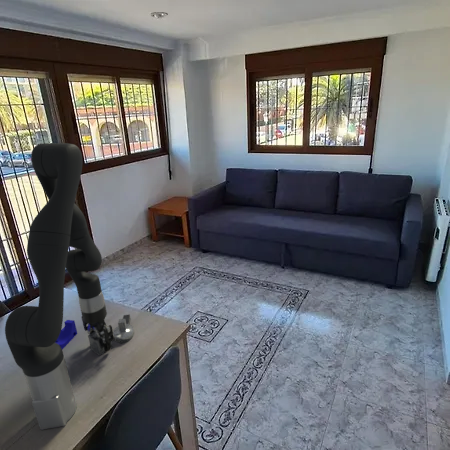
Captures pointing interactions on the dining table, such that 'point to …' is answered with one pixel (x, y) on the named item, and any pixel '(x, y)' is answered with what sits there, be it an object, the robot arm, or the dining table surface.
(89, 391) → the dining table surface
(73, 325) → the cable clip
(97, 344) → the grey paneled cube
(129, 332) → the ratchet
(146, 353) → the dining table surface
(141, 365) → the dining table surface
